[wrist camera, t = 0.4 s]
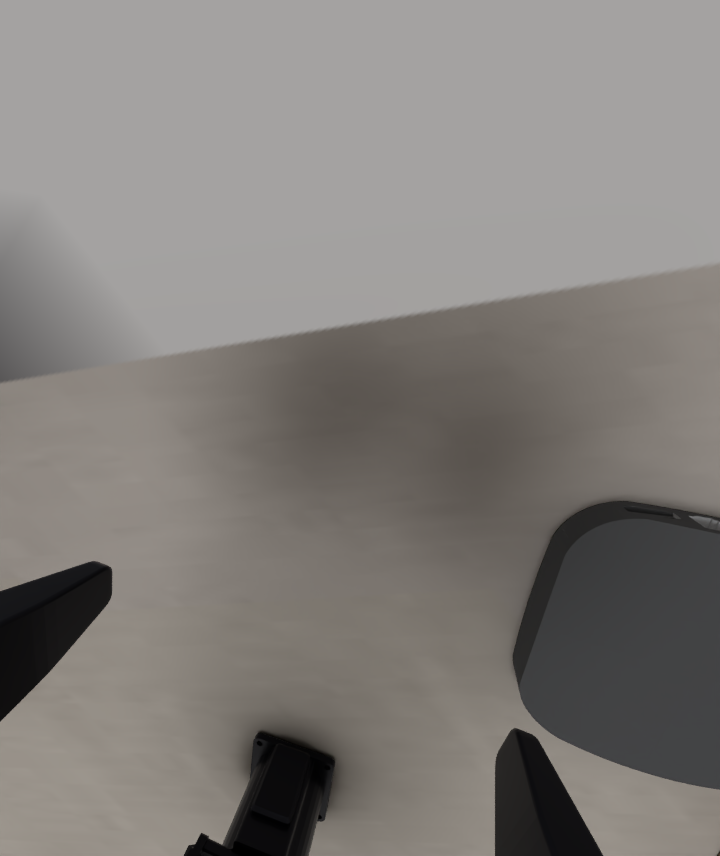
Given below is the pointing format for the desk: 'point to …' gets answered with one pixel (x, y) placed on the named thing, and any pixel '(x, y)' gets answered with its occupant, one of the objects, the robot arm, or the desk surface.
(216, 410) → the desk surface
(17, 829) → the desk surface
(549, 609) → the media streaming box
